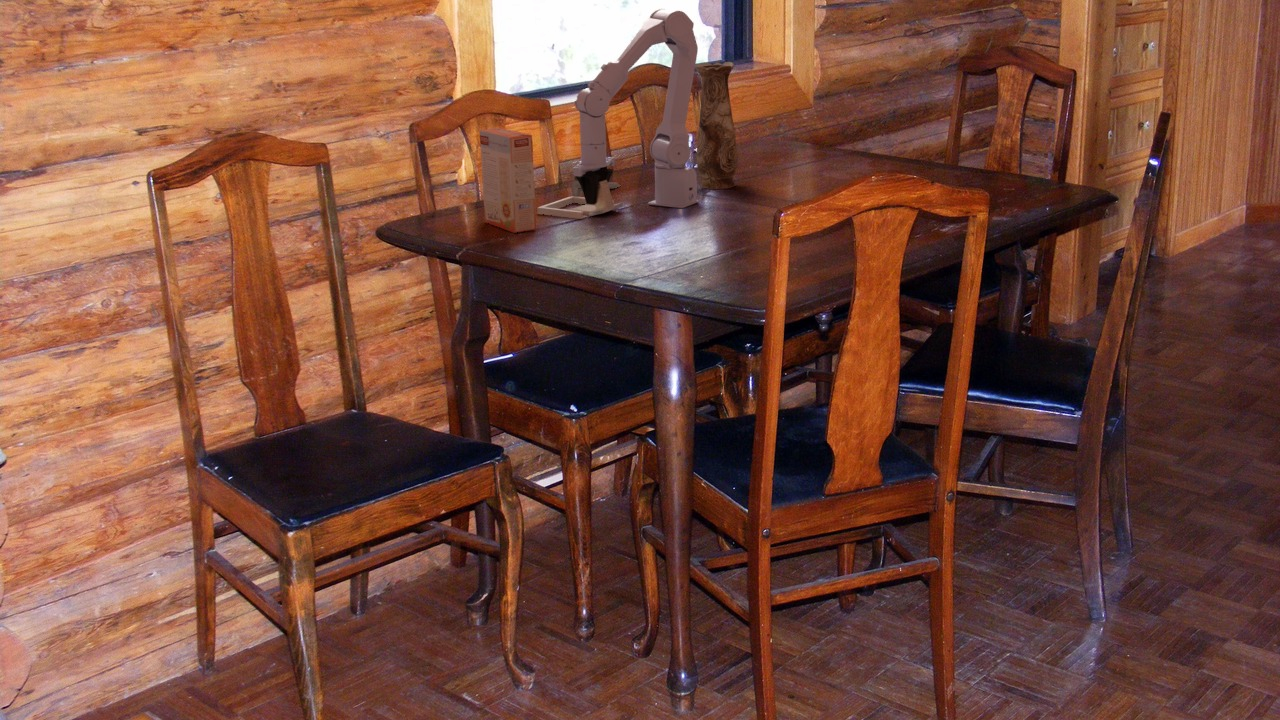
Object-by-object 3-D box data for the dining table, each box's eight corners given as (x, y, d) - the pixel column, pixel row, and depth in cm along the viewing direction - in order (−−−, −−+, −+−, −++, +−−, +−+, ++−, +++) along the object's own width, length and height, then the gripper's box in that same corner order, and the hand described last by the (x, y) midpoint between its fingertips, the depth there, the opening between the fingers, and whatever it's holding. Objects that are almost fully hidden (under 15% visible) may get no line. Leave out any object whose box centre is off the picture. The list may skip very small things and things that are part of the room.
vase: (739, 189, 312) (739, 65, 303) (695, 190, 313) (695, 66, 303) (736, 181, 322) (737, 61, 312) (694, 182, 322) (694, 61, 313)
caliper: (575, 202, 303) (575, 176, 301) (572, 202, 304) (571, 176, 302) (621, 187, 320) (620, 162, 318) (617, 187, 320) (616, 162, 318)
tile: (606, 211, 294) (606, 206, 293) (591, 216, 289) (591, 211, 288) (584, 209, 297) (584, 204, 296) (570, 214, 292) (570, 209, 292)
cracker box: (538, 230, 276) (533, 134, 269) (513, 234, 273) (508, 137, 266) (507, 219, 287) (502, 126, 280) (483, 222, 284) (478, 129, 277)
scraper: (622, 206, 292) (614, 177, 291) (603, 212, 285) (595, 183, 284) (608, 209, 294) (600, 181, 293) (589, 216, 288) (581, 187, 287)
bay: (614, 207, 297) (614, 200, 296) (581, 219, 285) (580, 212, 285) (572, 202, 303) (571, 196, 302) (537, 213, 291) (537, 207, 291)
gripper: (595, 136, 294) (597, 194, 298) (560, 146, 282) (562, 206, 287) (621, 139, 291) (623, 197, 295) (586, 148, 279) (588, 209, 283)
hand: (595, 202), depth 291 cm, fingers closed on scraper, 3 cm apart
